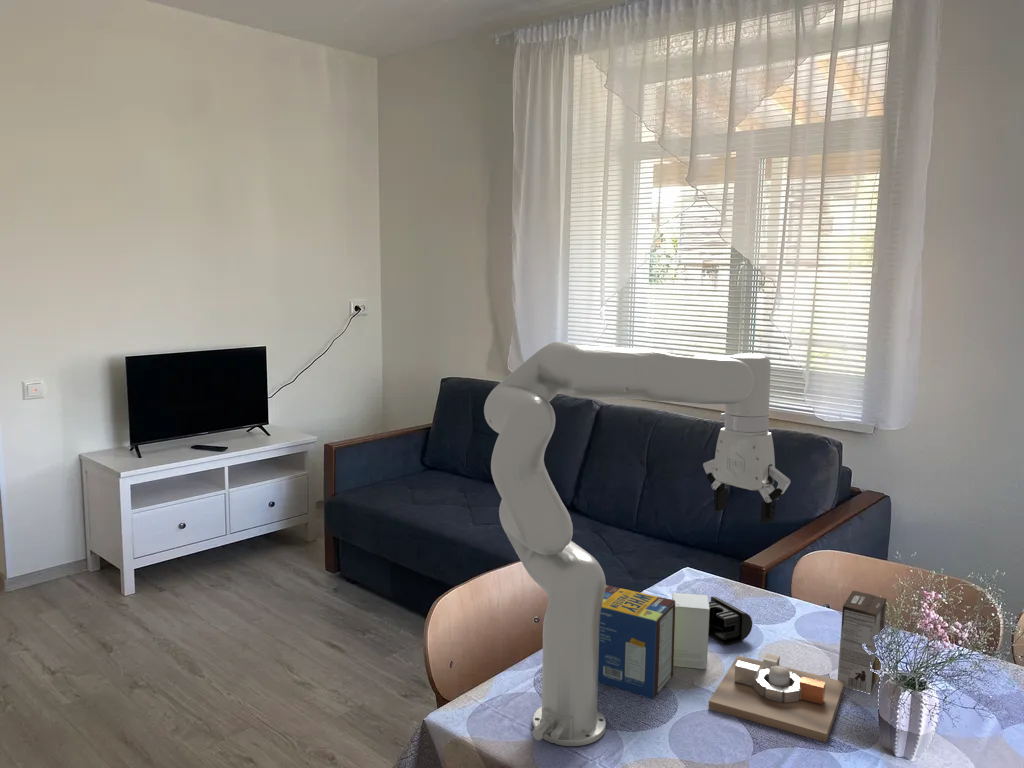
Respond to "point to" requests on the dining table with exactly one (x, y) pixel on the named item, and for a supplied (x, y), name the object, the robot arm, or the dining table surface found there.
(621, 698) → the dining table surface
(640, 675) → the protein box
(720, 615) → the end cap
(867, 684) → the coffee box
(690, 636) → the supplement box
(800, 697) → the segmented ring with arms
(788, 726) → the base
